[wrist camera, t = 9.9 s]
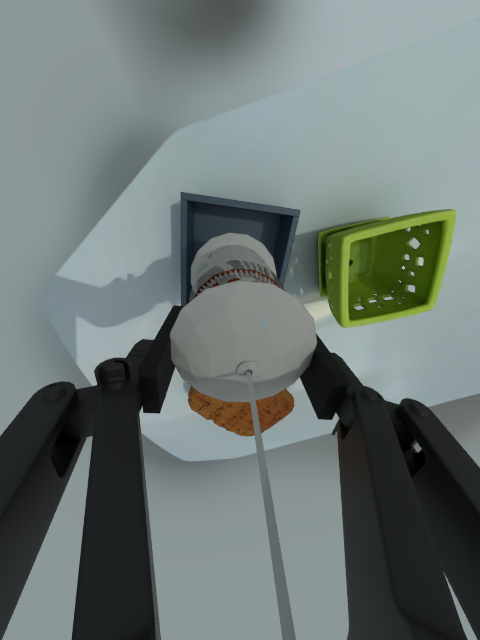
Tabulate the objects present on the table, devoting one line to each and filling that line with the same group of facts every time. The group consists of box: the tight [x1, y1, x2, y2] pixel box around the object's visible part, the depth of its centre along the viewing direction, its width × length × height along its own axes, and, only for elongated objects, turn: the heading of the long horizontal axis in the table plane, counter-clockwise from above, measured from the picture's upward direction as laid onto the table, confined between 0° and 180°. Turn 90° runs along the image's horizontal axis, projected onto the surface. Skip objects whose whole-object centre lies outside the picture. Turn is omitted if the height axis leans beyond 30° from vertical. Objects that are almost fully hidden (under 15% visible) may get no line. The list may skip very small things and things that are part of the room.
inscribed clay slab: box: [188, 386, 294, 436], centre depth 49 cm, size 22×17×8 cm
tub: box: [181, 192, 300, 306], centre depth 34 cm, size 17×16×8 cm
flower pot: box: [318, 209, 456, 328], centre depth 33 cm, size 14×14×13 cm
